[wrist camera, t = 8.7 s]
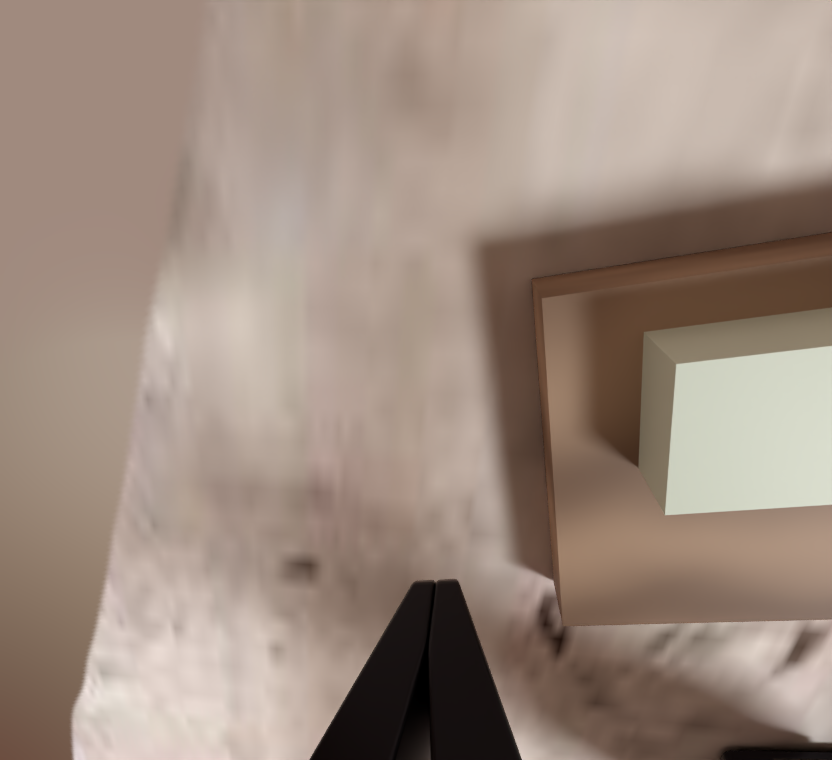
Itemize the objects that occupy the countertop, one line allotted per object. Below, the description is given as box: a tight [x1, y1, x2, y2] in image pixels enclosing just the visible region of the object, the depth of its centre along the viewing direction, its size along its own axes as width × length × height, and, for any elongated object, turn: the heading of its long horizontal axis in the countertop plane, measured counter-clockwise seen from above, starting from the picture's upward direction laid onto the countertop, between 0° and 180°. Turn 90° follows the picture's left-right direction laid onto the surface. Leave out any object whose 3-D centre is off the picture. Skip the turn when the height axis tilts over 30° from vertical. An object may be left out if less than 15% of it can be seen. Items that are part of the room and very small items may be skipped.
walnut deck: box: [532, 232, 832, 626], centre depth 14 cm, size 13×14×2 cm
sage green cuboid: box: [638, 307, 832, 515], centre depth 11 cm, size 4×6×2 cm
